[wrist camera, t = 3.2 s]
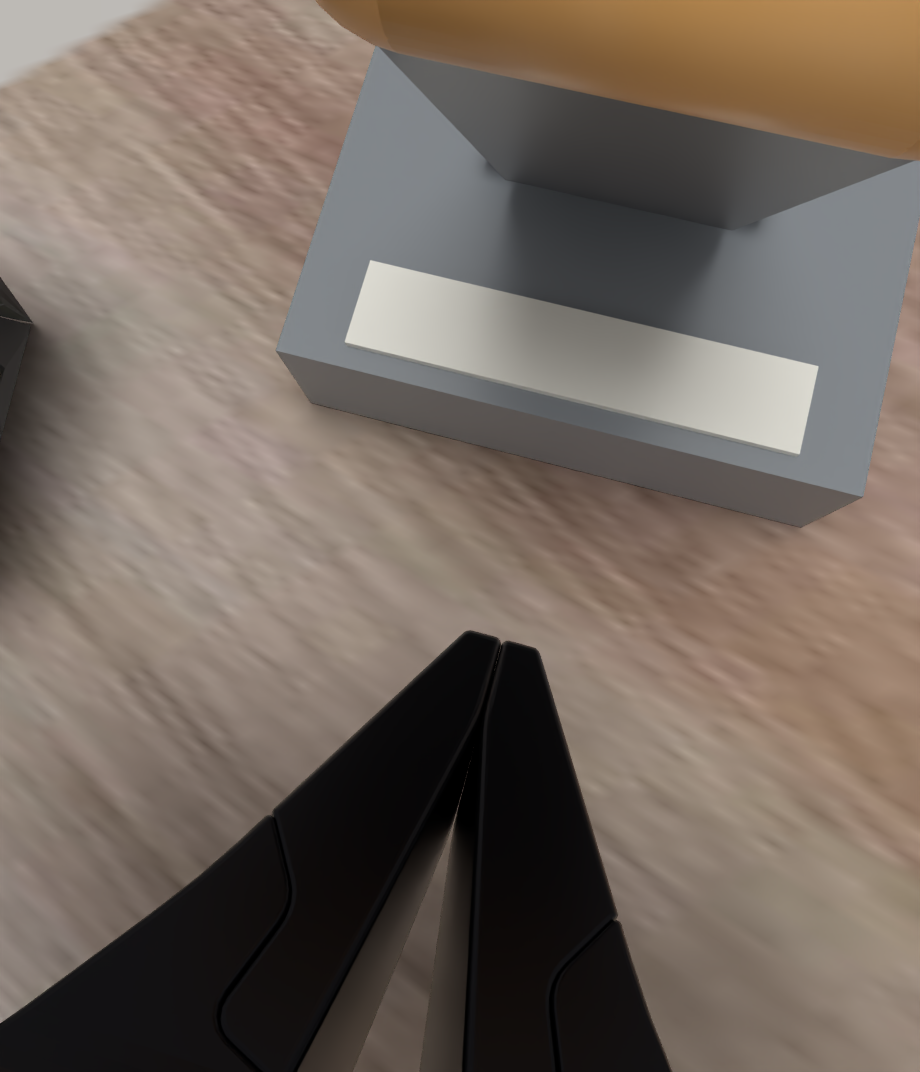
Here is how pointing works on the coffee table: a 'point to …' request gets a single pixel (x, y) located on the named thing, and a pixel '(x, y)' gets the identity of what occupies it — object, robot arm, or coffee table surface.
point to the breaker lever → (666, 94)
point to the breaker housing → (601, 319)
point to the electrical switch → (10, 347)
